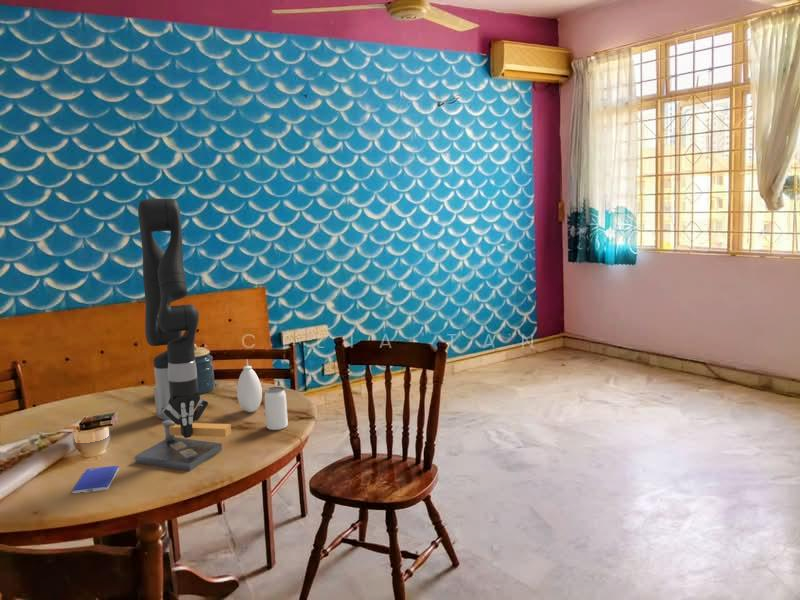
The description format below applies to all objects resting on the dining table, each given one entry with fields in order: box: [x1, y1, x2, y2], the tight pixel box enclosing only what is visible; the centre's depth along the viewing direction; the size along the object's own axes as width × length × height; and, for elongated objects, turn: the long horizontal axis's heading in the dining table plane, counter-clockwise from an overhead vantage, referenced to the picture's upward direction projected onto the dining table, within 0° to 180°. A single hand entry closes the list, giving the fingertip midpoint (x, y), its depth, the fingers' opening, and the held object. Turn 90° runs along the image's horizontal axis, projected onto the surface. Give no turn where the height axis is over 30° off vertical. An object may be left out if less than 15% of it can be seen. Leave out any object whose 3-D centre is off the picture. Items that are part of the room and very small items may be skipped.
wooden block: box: [161, 420, 232, 441], centre depth 184 cm, size 20×4×5 cm, turn 80°
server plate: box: [134, 437, 223, 472], centre depth 179 cm, size 18×14×2 cm
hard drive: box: [71, 465, 120, 494], centre depth 166 cm, size 2×8×12 cm
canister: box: [194, 343, 216, 395], centre depth 238 cm, size 13×13×18 cm
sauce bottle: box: [236, 359, 263, 413], centre depth 212 cm, size 8×8×18 cm
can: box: [264, 386, 289, 431], centre depth 198 cm, size 6×6×12 cm
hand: (187, 436), depth 181 cm, fingers closed
